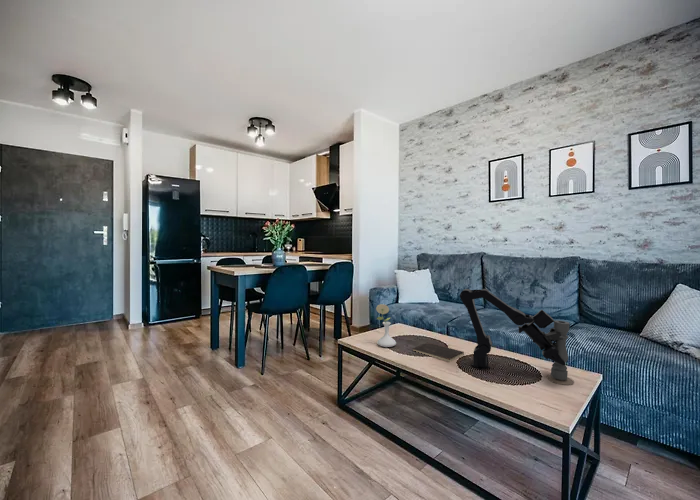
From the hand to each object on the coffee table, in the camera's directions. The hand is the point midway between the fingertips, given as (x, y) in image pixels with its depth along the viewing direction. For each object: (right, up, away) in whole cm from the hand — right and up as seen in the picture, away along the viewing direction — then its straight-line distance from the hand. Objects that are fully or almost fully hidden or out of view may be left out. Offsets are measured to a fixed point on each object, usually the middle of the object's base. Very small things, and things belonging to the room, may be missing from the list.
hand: (563, 362), depth 139 cm
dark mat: (-1, -8, +1) cm, 8 cm away
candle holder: (-2, -7, +1) cm, 7 cm away
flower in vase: (-74, -8, +50) cm, 89 cm away
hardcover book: (-46, -8, +36) cm, 59 cm away
